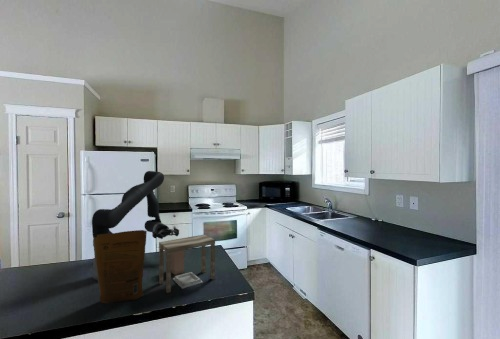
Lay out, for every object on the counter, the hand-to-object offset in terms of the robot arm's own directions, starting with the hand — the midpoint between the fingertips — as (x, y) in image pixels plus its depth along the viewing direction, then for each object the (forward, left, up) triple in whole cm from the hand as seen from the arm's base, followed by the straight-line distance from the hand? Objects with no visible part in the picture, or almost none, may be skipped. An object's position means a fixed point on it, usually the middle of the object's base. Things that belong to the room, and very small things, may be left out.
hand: (169, 235), depth 138 cm
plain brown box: (-3, -11, -16) cm, 20 cm away
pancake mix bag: (-34, -17, -16) cm, 41 cm away
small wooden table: (-7, -24, -16) cm, 30 cm away
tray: (-7, -24, -16) cm, 30 cm away
